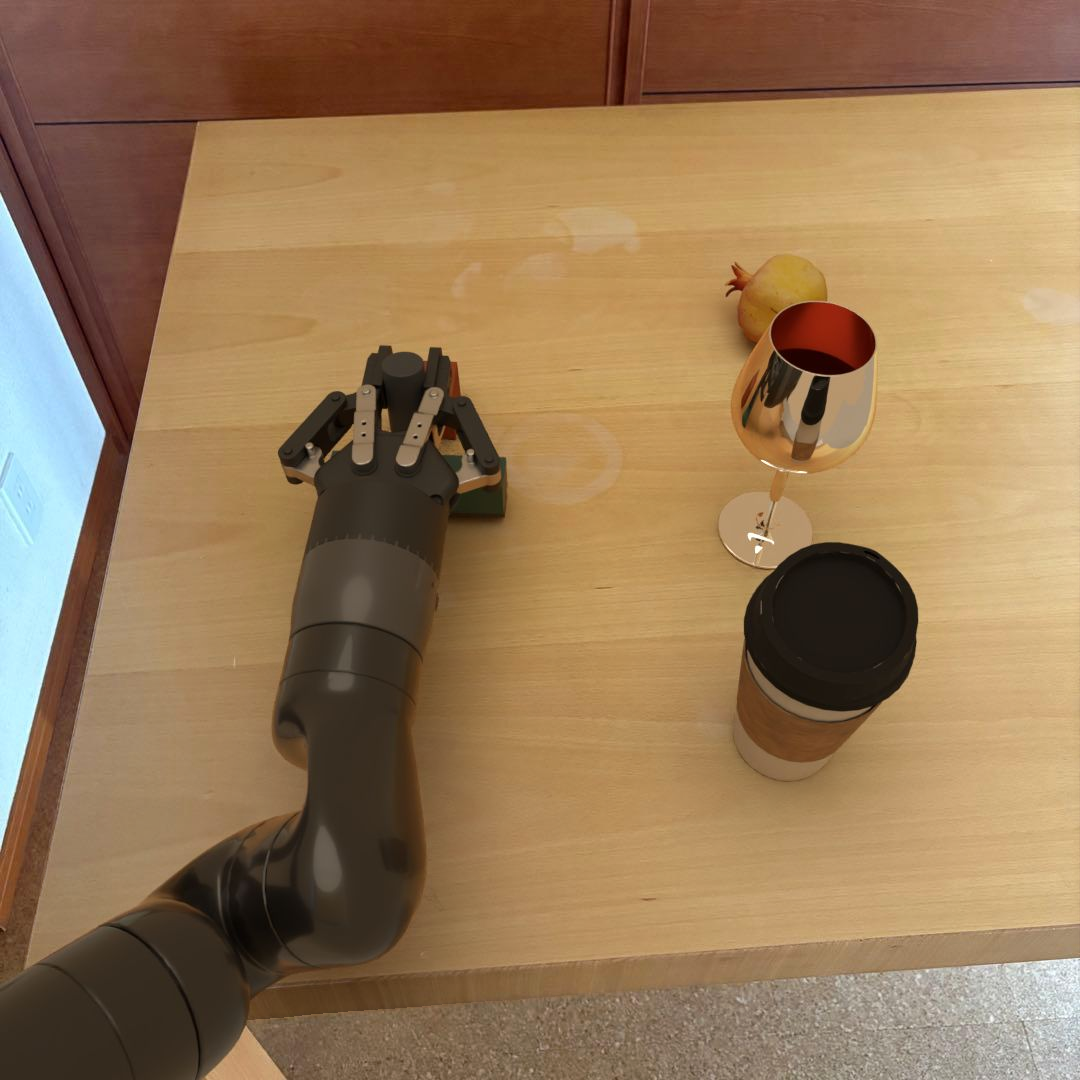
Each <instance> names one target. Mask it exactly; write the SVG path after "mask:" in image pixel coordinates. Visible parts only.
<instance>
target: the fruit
mask: <svg viewBox="0 0 1080 1080" xmlns="http://www.w3.org/2000/svg"><path fill="white" fill-rule="evenodd" d="M730 268H731V269H732V272H733V274H734V276H735V278H732V279H730V280H728V281H727V282H726V283H724V286H725V287H726V286H733V287H731V288H729V289H728V290H727V291H726V293H725V298H728V297H729V295H730V294H731V293H733V292H735V291H740V293H741V294H740V297H739V301H738V304H737V323H738V326H739V327H740V329H741V330H742V332H743V333H744V334H745V337H747V339H749V340H750V341H752V342H754V343H756V344H757V343H758V342H759V340H760V339H761V337H762V336H763V334H764V332H765V331H766V329H767V328H768V326H769V325H770V323H771V322H772V320H773V319H774V317H775V316H776V315H777V314H778V313H779V312H780V311H782V310H783V309H785V308H786V307H788V306H790V305H793V304H796V303H800V302H805V301H826V302H828V287H827V282H826V277H825V275H824V273H823V272H822V271H821V270H820V269H818V267H816V266H815V265H814V263H812V262H811V261H810V260H808V259H806V258H804V257H801V256H799V255H795V254H789V253H788V254H787V253H786V254H785V253H784V254H783V253H782V254H776V255H774V256H772V257H771V258H769V259H768V260H767V261H766V262H765V263H764V264H763V265H762V266H761V267H760V268H759V269H757V270H756V272H755V273H754V274H752V273H749V272H748V271H747V270H746V269H745V268H744V267H742V266H741V264H739V263H738V262H737V261H734V265H733V264H731V265H730Z"/></svg>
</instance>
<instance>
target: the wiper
mask: <svg viewBox="0 0 1080 1080" xmlns="http://www.w3.org/2000/svg"><path fill="white" fill-rule="evenodd" d="M424 361H425V360H424V359H423V358H422V356H420V355H419V354H418V353H415V352H412V351H398V352H393V354H391V355H389V356H387V357H386V358H385V359H384V360H383V362H382V365H381V367H382V374H383V381H384V388H385V395H386V402H387V409H386V410H387V415H388V423H389V428H390V432H392V433H395V432H402V431H408V428H409V425H410V422H411V420H412V417H413V414H414V412H418V409H419V406H420V404H421V401H422V398H423V395H424V391H423V383H424V379H425V368H424ZM339 451H340V450H331V453H330V457H329V459H330V458H331V457H333V456H334V455H335V454H336V453H337V452H339ZM442 456H443V457H444V458H445V460H446V461H447V462H448V464H449V465H450V466H451V468H452V469H453V470H454V472H455V473H456V472H458V471H459V470H460V469H461V467H462V463H461V458H462V456H463V455H457V454H442ZM499 458H500V470H501V483H502V486H501V489H500V490H499V491H497V492H495V493H487V492H485V491H484V490H483V489H482V487H480V488H477V489H474V490H471V491H467V492H464V493H461V494H460V499H459V501H458V503H457V504H456V506H455V507H454V508H453V509H452V510H451V512H450V514H449V516H455V517H458V516H459V517H477V518H478V517H479V518H483V517H484V518H503V519H504V518H505V517H506V510H507V502H508V491H507V489H508V469H507V457H506V456H499Z"/></svg>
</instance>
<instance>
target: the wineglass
mask: <svg viewBox="0 0 1080 1080" xmlns="http://www.w3.org/2000/svg"><path fill="white" fill-rule="evenodd" d="M878 367H879V366H878V339H877V335H876V332H875V330H874V328H873V327H872V325H871V323H869V321H868V320H867V319H865V318H864V317H863V316H862V314H859V313H858V312H857V311H855V310H854V309H851V308H849V307H847V306H845V305H842V304H839V303H835V302H831V301H827V302H826V301H805V302H800V303H796V304H793V305H790V306H788V307H786V308H785V309H783V310H782V311H780V312H779V313H778V314H777V315H776V316H775V317H774V319H773V320H772V322H771V323H770V325H769V326H768V328H767V329H766V331H765V332H764V334H763V336H762V337H761V339H760V340H759V342H758V343H756V345H755V346H754V348H753V350H752V351H751V353H750V354H749V356H748V358H747V359H746V360H745V362H744V365H743V366H742V368H741V369H740V372H739V374H738V376H737V379H736V381H735V382H734V386H733V389H732V393H731V397H730V398H731V399H730V416H731V421H732V425H733V428H734V431H735V433H736V435H737V436H738V439H739V440H740V442H741V443H742V445H743V446H744V447H745V448H746V450H747V451H748V452H749V453H750V454H751V455H752V456H753V457H754V458H756V460H758V461H759V462H761V463H762V464H763V465H766V466H768V467H769V468H771V469H773V470H775V473H774V476H773V481H772V484H771V488H770V491H761V490H760V491H759V490H758V491H750V492H746V493H742V494H740V495H737V496H736V497H734V498H732V499H731V500H730V501H728V503H726V505H725V506H724V507H723V508H722V510H721V512H720V514H719V518H718V522H717V531H718V536H719V538H720V541H721V543H722V545H723V547H725V549H726V550H727V552H728V553H729V554H731V556H733V557H734V558H735V559H737V560H738V561H740V562H741V563H743V564H746V565H747V566H750V567H754V568H756V569H757V568H758V569H764V570H775V569H776V568H777V566H778V565H779V564H780V563H781V562H783V561H784V560H785V559H786V558H787V557H788V556H790V555H791V554H793V553H795V552H796V551H798V550H800V549H801V548H804V547H807V546H810V545H812V541H813V535H814V533H813V526H812V523H811V520H810V518H809V516H808V515H807V513H806V512H805V510H804V509H803V508H801V507H800V506H799V505H798V504H797V503H796V502H794V501H793V500H792V499H790V498H788V497H787V496H784V495H783V494H784V490H785V486H786V483H787V480H788V477H789V474H794V475H811V474H817V473H822V472H825V471H829V470H831V469H834V468H836V467H838V466H840V465H841V464H843V463H845V462H847V461H848V460H849V459H850V458H852V457H853V456H854V455H856V454H857V452H858V451H859V450H860V449H861V448H862V447H863V446H864V444H865V443H866V441H867V439H868V437H869V436H870V433H871V431H872V430H873V429H872V428H873V426H874V423H875V419H876V413H877V406H878V405H877V403H878V386H879V385H878V379H879V374H878V373H879V372H878Z"/></svg>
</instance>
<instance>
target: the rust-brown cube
mask: <svg viewBox="0 0 1080 1080" xmlns="http://www.w3.org/2000/svg"><path fill="white" fill-rule="evenodd" d="M423 361H424V368H425V372H426V366H427V360H423ZM451 369H452V383H451V390H450V397H452V398H457V397H459V396H462V393H461V384H460V376H459V375H460V374H459V367H458V362H457V361H451ZM456 439H457V434H456V431H455V429H452V428H449V427H446V426H445V429H444V432H443V435H442V438H441V440H456Z"/></svg>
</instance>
